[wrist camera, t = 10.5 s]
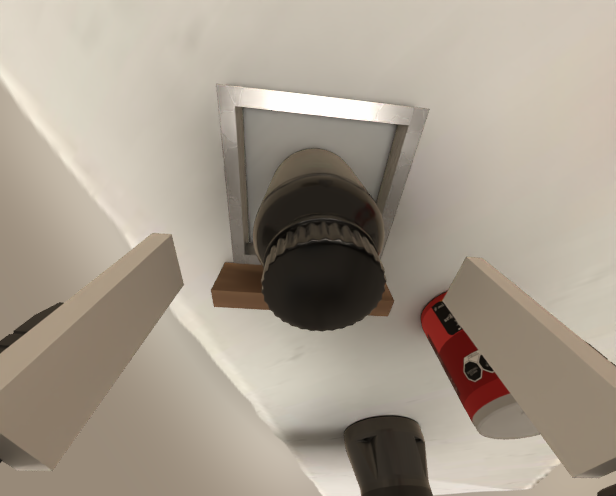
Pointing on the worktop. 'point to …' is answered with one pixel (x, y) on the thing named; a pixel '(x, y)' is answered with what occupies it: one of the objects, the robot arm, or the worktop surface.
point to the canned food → (474, 377)
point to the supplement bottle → (319, 243)
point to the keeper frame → (239, 97)
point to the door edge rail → (247, 289)
